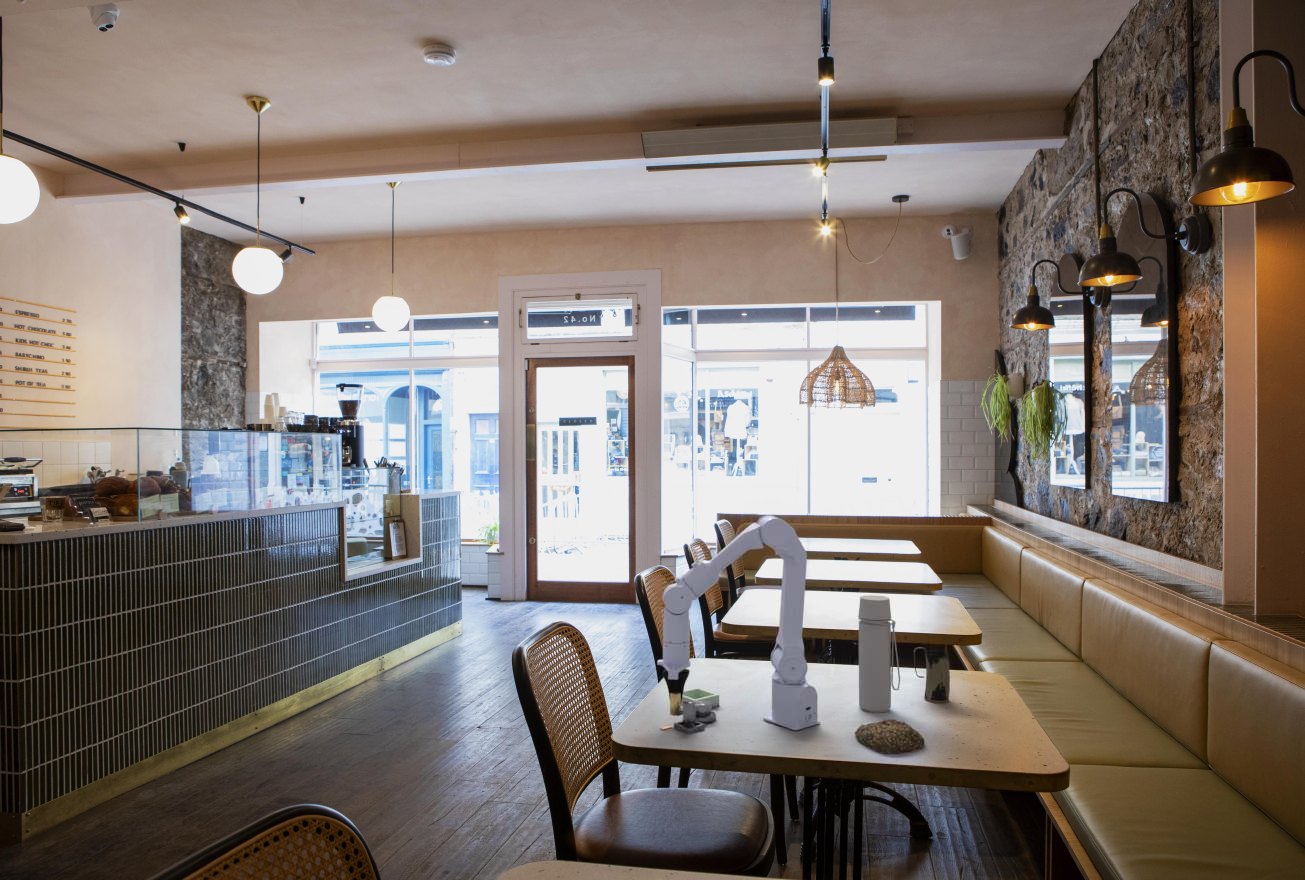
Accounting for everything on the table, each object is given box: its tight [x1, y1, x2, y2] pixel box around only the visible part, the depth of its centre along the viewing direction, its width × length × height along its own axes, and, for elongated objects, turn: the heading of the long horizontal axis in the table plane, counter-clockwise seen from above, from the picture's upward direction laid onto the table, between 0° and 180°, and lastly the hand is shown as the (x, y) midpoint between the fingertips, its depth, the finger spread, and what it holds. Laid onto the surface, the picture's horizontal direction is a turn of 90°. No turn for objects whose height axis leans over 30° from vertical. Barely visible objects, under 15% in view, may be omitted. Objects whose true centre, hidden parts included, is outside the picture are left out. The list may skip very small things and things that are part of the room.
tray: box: [681, 687, 720, 709], centre depth 193 cm, size 7×7×2 cm
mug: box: [913, 646, 951, 705], centre depth 197 cm, size 8×6×12 cm
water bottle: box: [857, 594, 901, 714], centre depth 190 cm, size 9×8×25 cm
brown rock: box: [854, 718, 926, 755], centre depth 168 cm, size 13×12×5 cm
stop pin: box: [682, 701, 696, 728], centre depth 177 cm, size 3×3×6 cm
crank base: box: [659, 710, 717, 735], centre depth 180 cm, size 9×14×1 cm, turn 128°
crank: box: [669, 692, 712, 717], centre depth 181 cm, size 11×5×6 cm, turn 129°
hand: (675, 704), depth 181 cm, fingers closed
